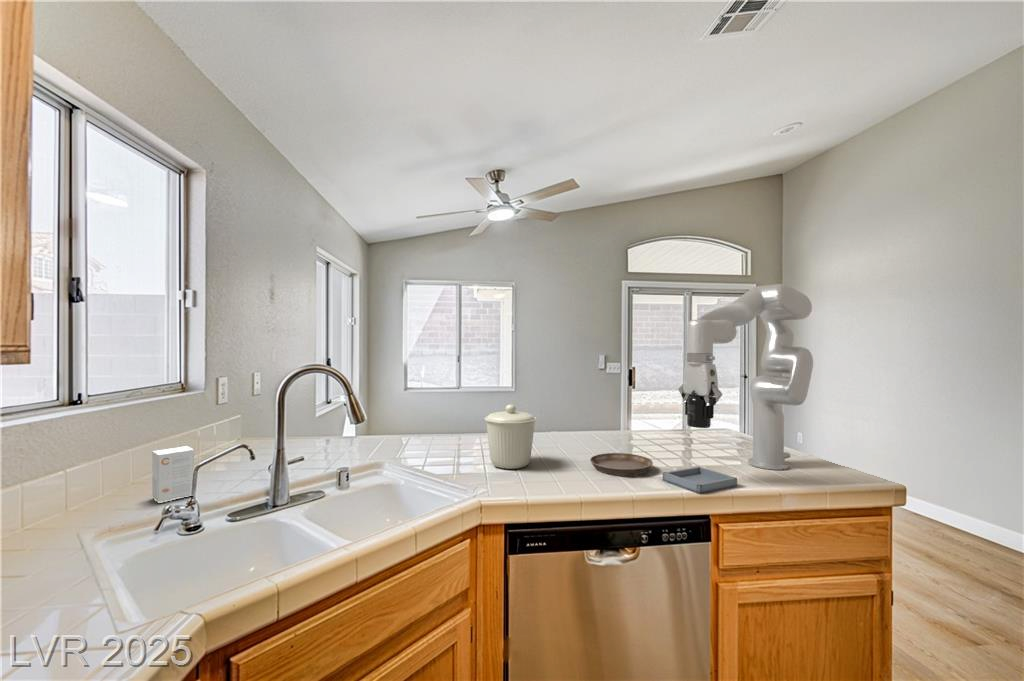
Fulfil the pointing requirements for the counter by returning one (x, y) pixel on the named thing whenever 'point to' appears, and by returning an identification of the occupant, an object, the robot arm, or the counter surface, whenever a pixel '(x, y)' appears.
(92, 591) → the counter surface
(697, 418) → the supplement bottle
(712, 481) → the tray
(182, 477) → the small box
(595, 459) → the plant saucer
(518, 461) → the canister
